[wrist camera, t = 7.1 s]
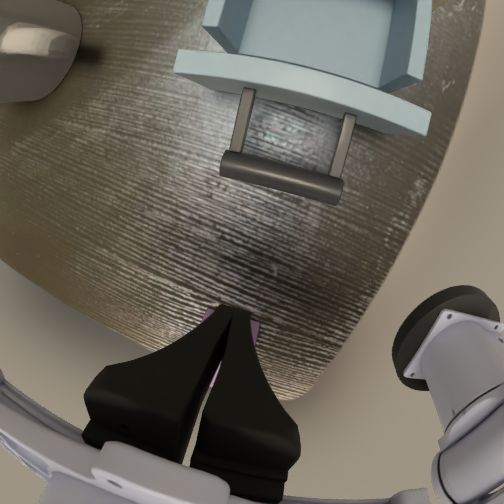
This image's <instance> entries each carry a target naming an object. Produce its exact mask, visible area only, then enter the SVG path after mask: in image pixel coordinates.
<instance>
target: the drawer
mask: <svg viewBox="0 0 504 504" xmlns="http://www.w3.org/2000/svg"><path fill="white" fill-rule="evenodd" d="M431 13H432V0H209V2H208V5H207V8H206V11H205V15H204V18H203V21H202V27H203V28H204V29H205V30H206V31H207V32H208V33H209V34H210V35H211V36H212V37H213V38H214V39H215V40H216V41H217V42H218V43H219V44H220V45H221V46H222V47H223V49H224V50H225V51H227V53H222V52H213V51H202V50H188V49H179V50H178V52H177V56H176V60H175V64H174V68H173V73H175V74H178V75H180V76H182V77H185V78H187V79H189V80H191V81H194V82H196V83H198V84H200V85H202V86H205V87H207V88H209V89H211V90H217V91H223V92H230V93H236V94H241V99H240V104H239V108H238V112H237V117H236V121H235V126H234V130H233V135H232V139H231V144H230V149H229V150H226V151H225V152H224V154H223V157H222V160H221V164H220V176H222V177H227V178H231V179H235V180H240V181H244V182H248V183H252V184H256V185H260V186H264V187H268V188H272V189H276V190H280V191H284V192H288V193H291V194H295V195H299V196H302V197H306V198H310V199H313V200H317V201H320V202H324V203H327V204H331V205H334V206H336V205H337V204H338V202H339V200H340V198H341V194H342V190H343V180H342V179H340V178H341V174H342V171H343V167H344V164H345V160H346V157H347V153H348V149H349V145H350V142H351V138H352V134H353V130H354V126H355V123H356V124H359V125H362V126H365V127H368V128H371V129H373V130H376V131H379V132H382V133H384V134H398V135H416V136H426V135H427V131H428V127H429V122H430V118H431V112H430V111H428V110H425V109H423V108H421V107H419V106H417V105H414V104H412V103H410V102H408V101H405V100H403V99H400V98H398V97H395V96H393V95H390V94H388V93H390V92H393V91H395V90H398V89H400V88H403V87H406V86H408V85H411V84H414V83H416V82H419V81H422V79H423V73H424V67H425V61H426V55H427V48H428V40H429V32H430V23H431ZM255 97H257V98H262V99H267V100H272V101H276V102H281V103H285V104H289V105H293V106H297V107H301V108H305V109H309V110H313V111H316V112H320V113H324V114H327V115H330V116H334V117H337V118H340V119H342V122H341V126H340V130H339V134H338V138H337V141H336V145H335V149H334V153H333V156H332V160H331V164H330V167H329V171H328V175H327V174H323V173H320V172H316V171H313V170H309V169H305V168H302V167H298V166H294V165H291V164H287V163H283V162H279V161H275V160H271V159H267V158H262V157H258V156H254V155H250V154H245V153H241V152H243V148H244V144H245V139H246V135H247V130H248V126H249V122H250V117H251V113H252V109H253V104H254V100H255Z"/></svg>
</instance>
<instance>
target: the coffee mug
mask: <svg viewBox="0 0 504 504" xmlns="http://www.w3.org/2000/svg"><path fill="white" fill-rule="evenodd" d="M81 34H82V23H81V18H80V15H79V12H78V11H77V10H76V9H75V8H74V7H73V6H70V5H68V4H65V3H62V2H59V1H56V0H0V103H4V102H20V101H36V100H39V99H42V98H44V97H46V96H47V95H49V94H50V93H51V92H52V91H53V90H54V89H55V88H56V87H57V86H58V85H59V84H60V83H61V81H62V80H63V79H64V77H65V76H66V74H67V72H68V71H69V69H70V67H71V65H72V63H73V61H74V59H75V56H76V54H77V51H78V48H79V44H80V39H81Z"/></svg>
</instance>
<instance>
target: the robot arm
mask: <svg viewBox="0 0 504 504" xmlns="http://www.w3.org/2000/svg"><path fill="white" fill-rule="evenodd" d="M449 314H450V315H449ZM448 315H449V316H448ZM447 316H448V317H447ZM503 330H504V323H502V322H498V321H494V320H490V319H486V318H482V317H478V316H474V315H470V314H466V313H462V312H458V311H454V310H450V309H443V310H442V311H441V312H440V314H439V315H438V317H437V319H436V321H435V323H434V324H433V326H432V328H431V329H430V331H429V333H428V334H427V336H426V338H425V339H424V341H423V343H422V344H421V346H420V347H419V349H418V351H417V352H416V354H415V355H414V357H413V358H412V360H411V361H410V363H409V364H408V366H407V367H406V369H405V370H404V372H403V375H404V377H408V378H416V379H425V380H426V382H427V385H428V387H429V390H430V393H431V396H432V398H433V401H434V404H435V407H436V410H437V413H438V416H439V419H440V422H441V425H442V428H443V432H444V436H443V437H442V438H440V439H439V440H438V443H439V446H440V450H441V451H439V452H438V453H437V454H436V456H435V457H434V459H433V462H432V469H431V482H432V486H433V489H434V492H435V494H436V496H437V497H438V499H439V500H440V501H441V502H442V503H443V504H504V487H503V488H501V489H500V490H498V491H496V492H494V493H491V494H488V493H489V492H491V491H492V490H494V489H496V488H497V487H499V486H500V485H502V484H503V483H504V337H503V336H502V335H501V333H502V332H503ZM220 362H221V364H220ZM219 364H220V368H219V371H218V373H217V376H216V379H215V382H214V384H213V387H212V389H211V392H210V395H209V397H208V399H207V402H206V404H205V407H204V409H203V412H202V417H201V421H200V426H199V431H198V436H197V441H196V445H195V448H194V451H193V454H192V457H191V460H190V461H191V462H190V467H187V466H184V465H182V462H183V459H184V456H185V453H186V450H187V447H188V444H189V441H190V438H191V434H192V431H193V428H194V425H195V422H196V419H197V416H198V413H199V410H200V407H201V405H202V402H203V400H204V397H205V395H206V393H207V391H208V389H209V386H210V384H211V382H212V380H213V378H214V376H215V373H216V371H217V369H218V367H219ZM411 373H412V374H411ZM84 401H85V404H86V407H87V411H88V413H89V416H90V419H91V420H90V421H89V423H88V424H87V426H86V428H85V429H84V431H82V430H81V429H79V428H77V427H75V426H73V425H72V424H70V423H68V422H66V421H65V420H63V419H61V418H60V417H58V416H56V415H55V414H53V413H52V412H50V411H49V410H47V409H45V408H44V407H42V406H41V405H39V404H38V403H36V402H35V401H33V400H32V399H31V398H29V397H28V396H26V395H25V394H24V393H22V392H21V391H19V390H18V389H17V388H16V387H14V386H13V385H12V384H10V383H9V382H8V381H6V380H5V378H4V376H3V373H2V371H1V369H0V445H1V446H2V447H4V448H5V449H6V450H7V451H9V453H10V454H12V455H13V456H14V457H15V458H16V459H18V460H19V461H20V462H21V463H22V464H24V465H25V466H26V467H28V468H29V469H30V470H31V471H33V472H34V473H35V474H37V475H38V476H39V477H41V478H42V479H44V480H45V481H46V482H48V484H47V486H46V487H45V489H44V491H43V493H42V494H41V496H40V498H39V500H38V501H37V503H36V504H430V502H429V496H428V490H427V488H419V489H410V490H404V491H401V492H399V493H397V494H395V495H393V496H392V497H391V498H386V499H367V500H366V499H364V500H338V499H336V500H335V499H317V498H303V497H293V496H285V495H283V492H284V483H285V482H286V481H287V477H288V470H289V469H290V468H291V467H292V466H293V465H294V464H295V463H296V462H297V460H298V459H299V457H300V453H301V444H300V435H299V431H298V426H297V424H296V423H295V422H294V421H293V419H292V418H291V417H290V416H289V415H288V414H287V412H286V411H285V410H284V408H283V407H282V405H281V404H280V403H279V401H278V399H277V398H276V396H275V394H274V392H273V391H272V389H271V387H270V386H269V384H268V382H267V379H266V377H265V375H264V373H263V370H262V368H261V365H260V362H259V360H258V356H257V353H256V349H255V345H254V341H253V336H252V329H251V313H250V312H249V311H245V310H242V309H238V308H235V307H231V306H228V305H224V304H221V305H219V306H218V307H217V308H216V310H215V311H214V312H213V313H212V314H211V315H210V316H209V317H207V318H206V319H205V320H204V321H203V322H202V323H200V324H199V325H198V326H197V327H196V328H194V329H193V330H192V331H190V332H189V333H187V334H186V335H185V336H183V337H182V338H180V339H179V340H177V341H175V342H173V343H172V344H170V345H168V346H166V347H164V348H162V349H160V350H158V351H156V352H154V353H151V354H149V355H146V356H143V357H140V358H137V359H134V360H131V361H128V362H123V363H118V364H114V365H109V366H106V367H105V368H104V369H103V370H102V371H101V372H100V373H99V374H98V375H97V376H96V377H95V378H94V380H93V381H92V382H91V384H90V385H89V387H88V388H87V389H86V391H85V393H84Z"/></svg>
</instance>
